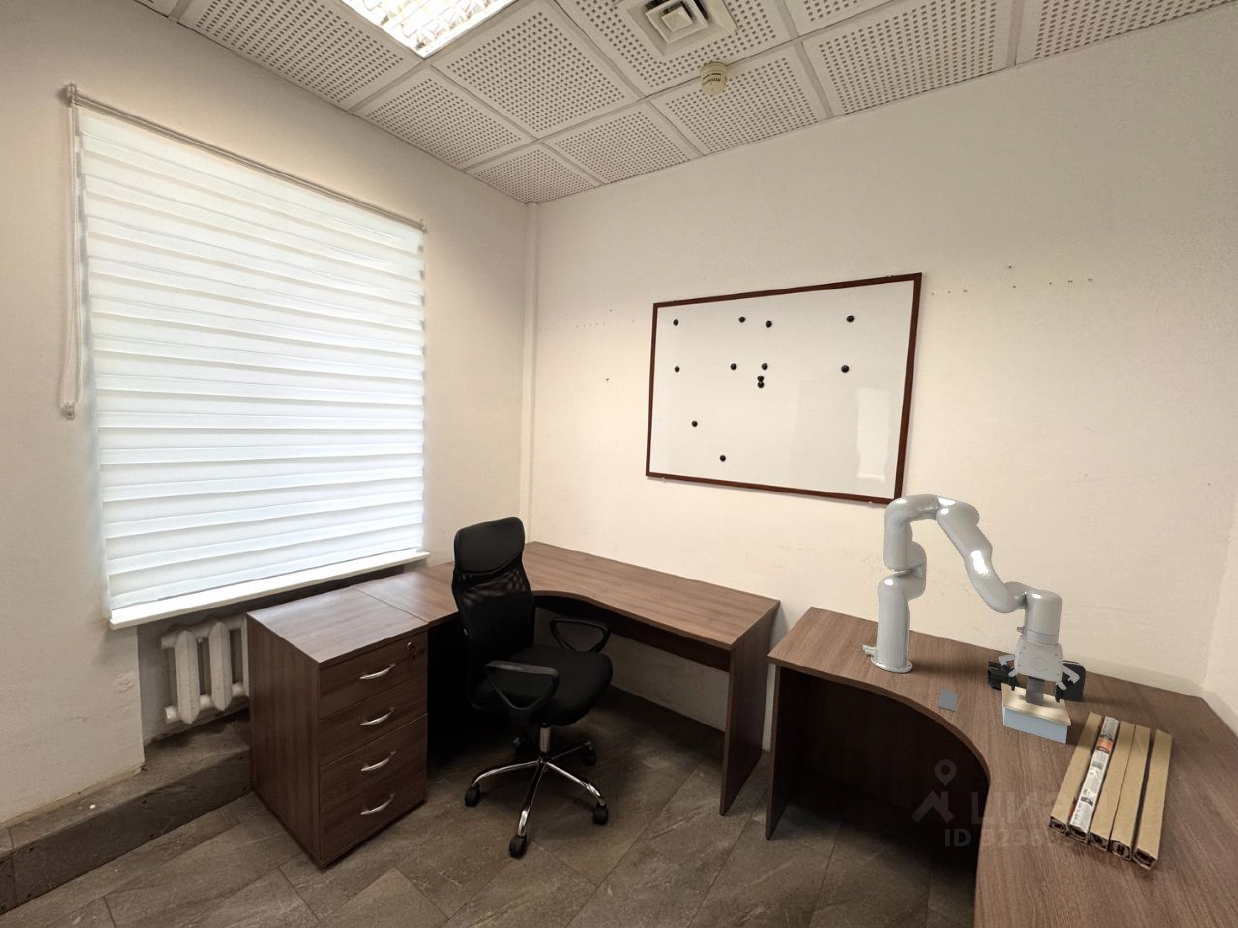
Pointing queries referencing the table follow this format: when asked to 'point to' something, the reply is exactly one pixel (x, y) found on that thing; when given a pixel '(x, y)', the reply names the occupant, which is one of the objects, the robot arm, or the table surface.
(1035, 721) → the box
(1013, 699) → the lid
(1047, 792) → the table surface
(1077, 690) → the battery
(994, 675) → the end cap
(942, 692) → the mat
